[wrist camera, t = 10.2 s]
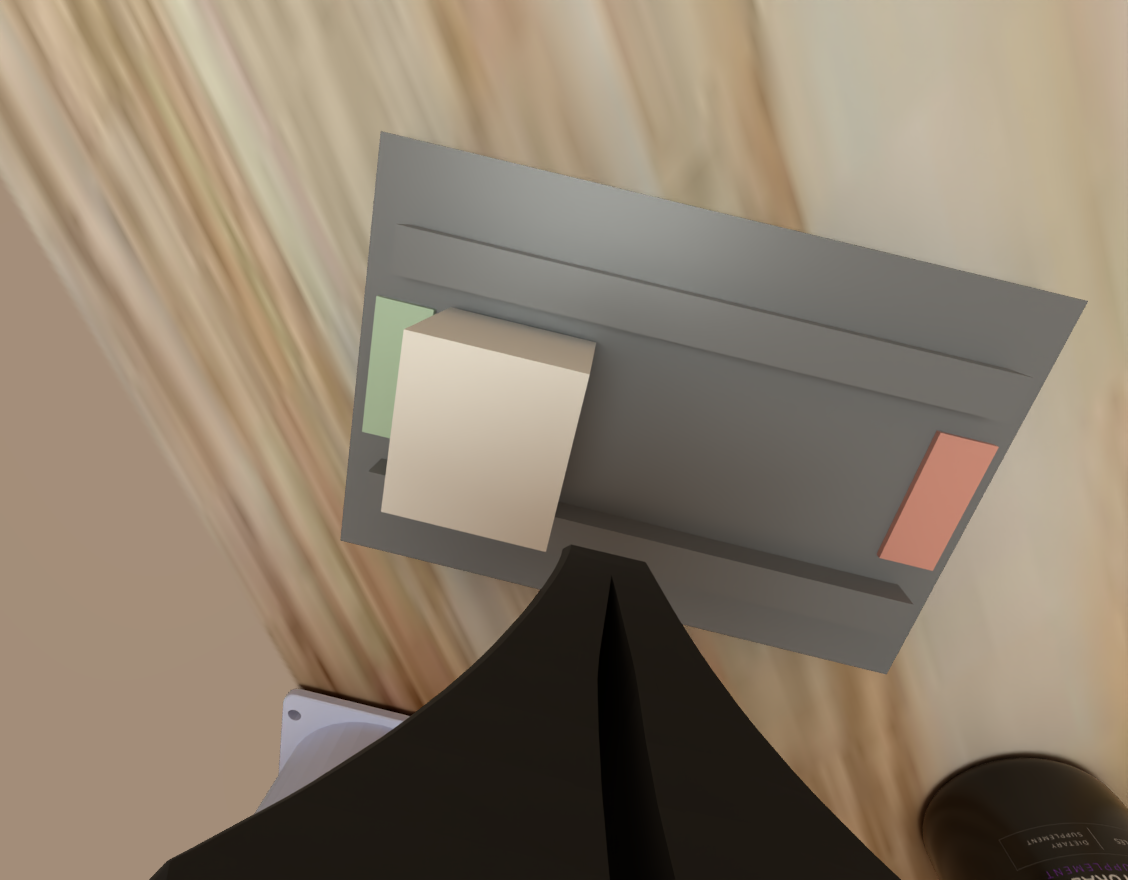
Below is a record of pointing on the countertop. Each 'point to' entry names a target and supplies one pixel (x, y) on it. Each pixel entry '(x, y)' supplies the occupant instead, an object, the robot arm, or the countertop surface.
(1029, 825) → the supplement bottle
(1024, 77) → the countertop surface
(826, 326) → the switch track
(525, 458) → the slider knob
